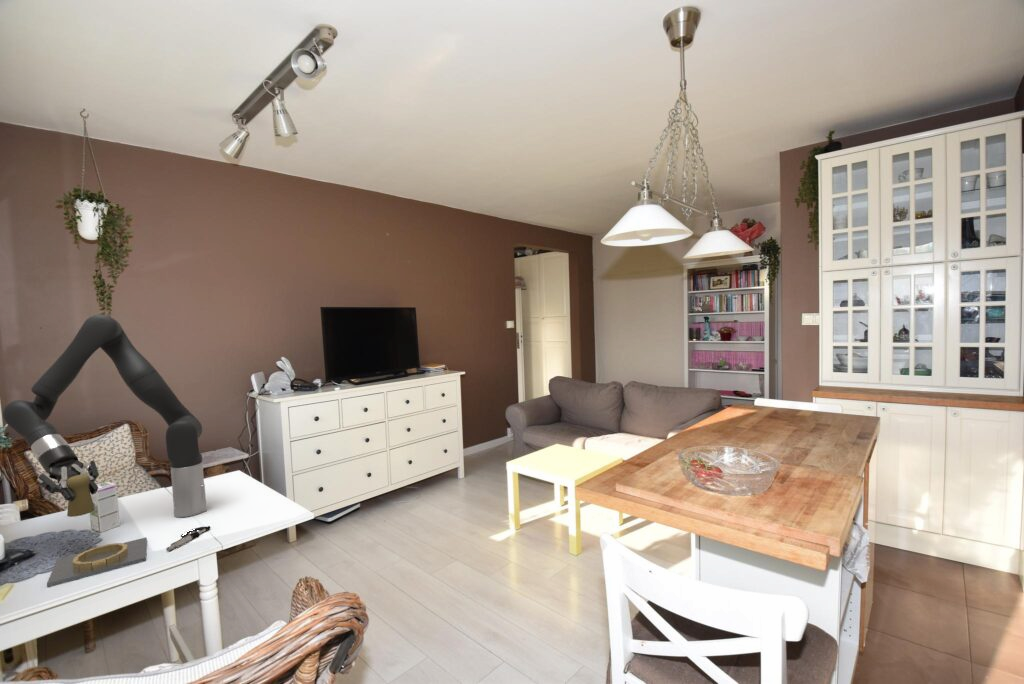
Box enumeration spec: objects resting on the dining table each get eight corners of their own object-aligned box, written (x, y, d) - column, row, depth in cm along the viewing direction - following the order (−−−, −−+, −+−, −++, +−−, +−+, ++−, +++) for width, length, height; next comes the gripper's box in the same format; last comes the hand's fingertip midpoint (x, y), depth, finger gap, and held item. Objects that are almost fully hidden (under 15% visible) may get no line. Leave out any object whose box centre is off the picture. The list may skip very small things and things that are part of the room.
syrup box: (120, 525, 158) (117, 482, 157) (99, 533, 152) (95, 489, 151) (111, 522, 160) (107, 480, 159) (90, 530, 155) (86, 486, 154)
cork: (78, 508, 142) (75, 472, 142) (100, 507, 143) (97, 471, 142) (61, 517, 136) (57, 479, 136) (83, 516, 137) (80, 478, 136)
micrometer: (194, 528, 154) (194, 521, 154) (213, 530, 153) (212, 522, 152) (151, 551, 139) (150, 543, 139) (171, 553, 138) (170, 545, 138)
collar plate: (146, 540, 146) (146, 532, 146) (145, 560, 133) (145, 552, 133) (57, 562, 134) (56, 553, 134) (47, 587, 121) (46, 577, 121)
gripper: (27, 451, 134) (59, 497, 131) (86, 438, 148) (116, 479, 145) (18, 468, 136) (48, 513, 133) (77, 454, 150) (106, 494, 147)
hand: (84, 495), depth 139 cm, fingers closed on cork, 5 cm apart
